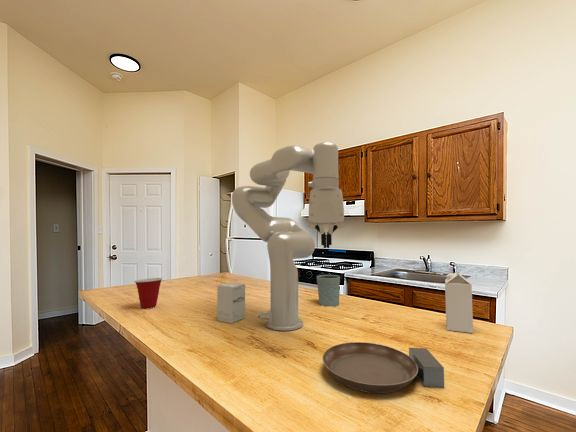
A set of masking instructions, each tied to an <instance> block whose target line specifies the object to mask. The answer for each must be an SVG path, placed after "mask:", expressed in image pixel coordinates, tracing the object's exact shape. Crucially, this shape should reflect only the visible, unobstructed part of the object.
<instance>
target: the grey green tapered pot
mask: <svg viewBox="0 0 576 432" xmlns="http://www.w3.org/2000/svg"><path fill="white" fill-rule="evenodd" d="M316 283H317V294H318V304H319V305H320V306H322V305H323V307H327V306H333V307H337V306H339V305H340V287H341V286H340V283H341V276H340V275H338V274H337V275H336V274H335V275H334V274H319V275H316Z"/></svg>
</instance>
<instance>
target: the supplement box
mask: <svg viewBox="0 0 576 432" xmlns="http://www.w3.org/2000/svg"><path fill="white" fill-rule="evenodd" d="M216 293H217V295H216V296H217V299H216V301H217V302H216V306H217V307H216V321H219V322H223V323H227V324H228V323H229V324H233V323H235V322H237V321H241V320H243V319H246V284H245V283H239V282H228V283H222V284H218V285H217V292H216Z"/></svg>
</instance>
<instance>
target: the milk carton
mask: <svg viewBox="0 0 576 432" xmlns="http://www.w3.org/2000/svg"><path fill="white" fill-rule="evenodd" d="M445 277H446V279H445V280H444V289H445V292H444V293H445V294H444V295H445V297H444V298H445V324H446V329H447V331H452V332H460V333H468V334H474V320H473V318H474V315H473V288H472V285H473V284H471V282H470V281H469V280H468V279H466V278H465V277H464V276H463V275H461V274H460V270H458V268H455V272H454V273H452V272H449V273H448V274H447V275H446V276H445Z"/></svg>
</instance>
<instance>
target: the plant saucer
mask: <svg viewBox="0 0 576 432" xmlns="http://www.w3.org/2000/svg"><path fill="white" fill-rule="evenodd" d="M322 362H323V365H324V366H325V368H326V369H327V371H328V372H329V374H330V375H332V377H334V379H336V381H338V382H340V384H343V385H344V386H347V388H351V389H353V390H355V391H360V392H363V393H364V392H365V393H370V394H388V393H395V392H397V391H400V390H402V389H404V388H405V387H407V386H408V385H409V384H411V383H412V382H413V380H415V378H416V377H417V373H418V366H417V364H416V362H415V361H414V360H413V359H412V358H411V357H410V356H409V354H406V353H405V352H403V351H401V350H399V349H397V348H394V347H391V346H387V345H383V344H378V343H373V342H361V341H357V342H356V341H354V342H353V341H352V342H351V341H350V342H343V343H339V344H335V345H333V346H330V347H329V348H328V349H326V350H325V351H324V353H323V355H322Z"/></svg>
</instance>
